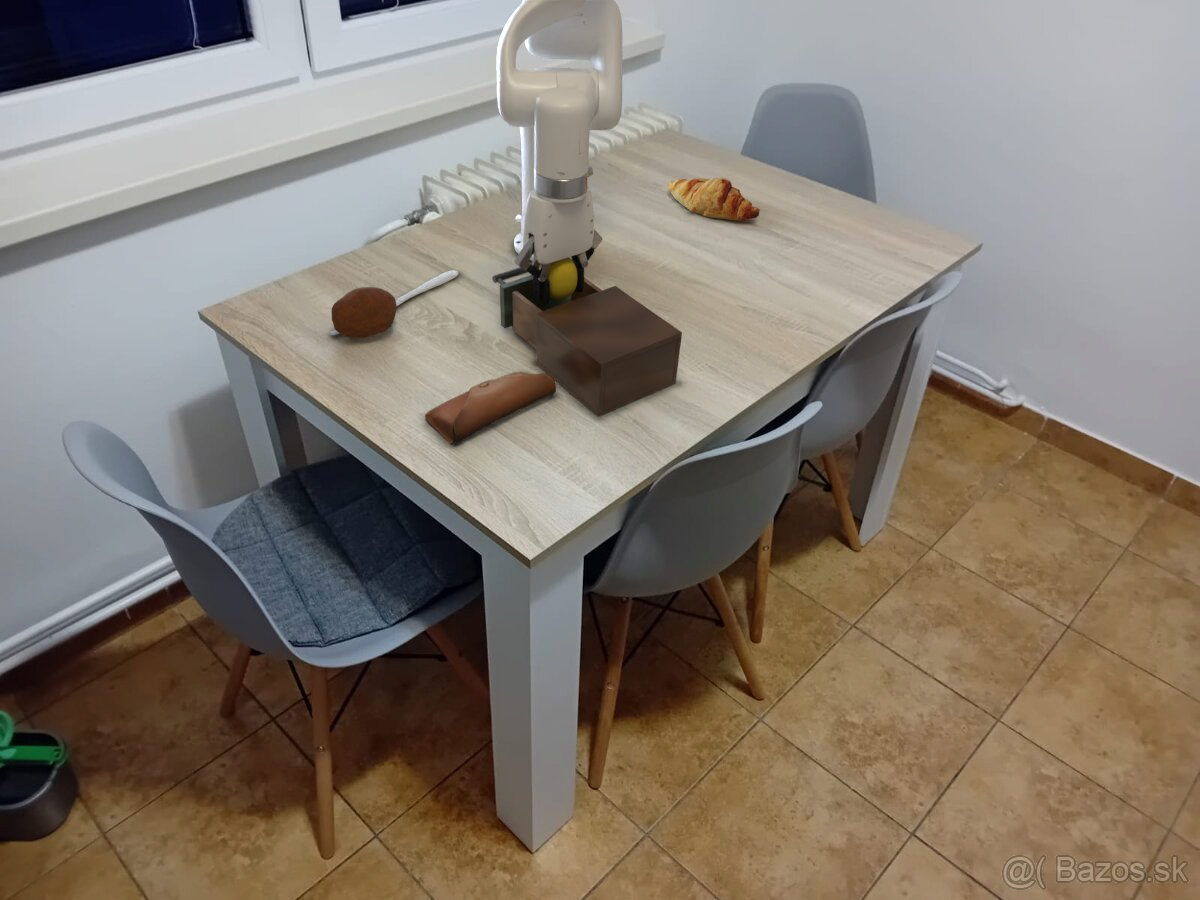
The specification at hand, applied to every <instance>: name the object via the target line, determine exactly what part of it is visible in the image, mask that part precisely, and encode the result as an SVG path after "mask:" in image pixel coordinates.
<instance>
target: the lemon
mask: <svg viewBox="0 0 1200 900" xmlns="http://www.w3.org/2000/svg"><path fill="white" fill-rule="evenodd" d="M546 279H548V280H549V281H550V297H551V298H553V299H556V300H557V301H561V300H562V299H566V298H568V297H569V296H570V295H572V293H573V292H574V290H575V288H576V285H577V270H576V266H575V264H574V262H573V261H572V259H570V258H569V257H567V258H564V259H561V260H558V261H555V262H551V265H550V268H549V272H548V275H547V278H546Z"/></svg>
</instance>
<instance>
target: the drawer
mask: <svg viewBox="0 0 1200 900" xmlns="http://www.w3.org/2000/svg"><path fill="white" fill-rule="evenodd" d="M540 269H541V268H539V270H540ZM528 273H529V272H527V271H525V270H524V269H522V268H521V267H519V266H518V267H517V268H513V269H510V270H508V271H503V272H501V273H497V274H495V275H493V276H492V277H491V278H492V282H493V283H494V284H496V283H498V284H499V307H500V326H501V327H502V328H503V329H508V328H511V327H512V330H513V331H514V332H515V333H516V334H518V336H520V337H521V338H522V339H523V340H525V342H527V343H528V344H530V345H531V346H532V347H533V348H534V349H535V350H537V313H539V312H542V311H545V310H548V309H550V308H553V307H556V306H559V305H562V304H565V303H568V302H571V301H573V300H576V299H579V298H582V297H585V296H588V295H591V294H593V293H596V292H599V291H602V290H603V289H602V288H600V287H599V286H598V285H596V284H595V283H593V282H592V281H590V280H589V279H587V278H586V277H585V276H584V283H583V292H580V293H579V292H577V291H576V290H574V292H573V293H572V295H570V296H569V297H568V298H566V299H562V300H561V301H557V300H556V299H553V298H551V297H550V302H549V303H548V304H544V303H543V302H541V301H540V300H539V299H537V298H536V297H535V295H534V293H533V275H531V274H530V275H527V276H524V277H521V278H518V279H515V280H511V281H508V282H506V280H509V279H512V278H515V277H519V276H522V275H525V274H528Z"/></svg>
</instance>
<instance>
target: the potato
mask: <svg viewBox="0 0 1200 900" xmlns="http://www.w3.org/2000/svg"><path fill="white" fill-rule="evenodd" d="M397 307H398V306H397V305H396V297H395V296H394V295H393V294H392V293H391V292H389V291H388V290H385V289H383V288H380V287H373V286H362V287H358V288H354V289H353V290H350V291H348V292H347V293H346V294H344V295H343V296H342V297H341V298H339V299H337V300H336V301H335V302H334V303H333V305H332V308H331V322H332V325H333V328H334V330H336V331H337V332H338V333H340V334H339V335H341V336H343V337H346V338H349V339H364V338H369V337H374V336H377V335H379V334H383V333H386V332H387V331H388V330H390V329H391V327H392V325H393V324H394V321H395V317H396V313H397Z"/></svg>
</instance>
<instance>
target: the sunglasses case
mask: <svg viewBox="0 0 1200 900" xmlns="http://www.w3.org/2000/svg"><path fill="white" fill-rule="evenodd" d="M556 392H557V384H556V381H555V380H554V379H553V378H552V377H551V376H550V375H548V374H547V373H545V372H543V373H541V372H540V373H527V372H522V371H514V372H511V373H508V374H504V375H502V376H500V377H499V376H498V377H496V378H493V379H488V380H485V381H482V382H480V383H478V384H475V385H473V386H471V387H470V388H469V389H468V390H467V391H465V392H463V393H460V394H459V395H456V396H454V397H453V398H451V399H447V401H445V402H443V403H440V404H439V405H437V406H435V407H433V408H431V409H430V410H429V411H427V412H426V413H425V414H424V417H425V421H426V422H427V423H428V424H429V425H430V426H431V427H432V428H433V429H434V430H435V431H436V432H437V433H438V434H439V435H440V436H441V437H442V438H443V439H444V440H445V441H447V443H449V444H450V445H455V444H456V443H460V442H462V441H464V440H466V439H467V438H469V437H471V436H473V435H475V434H476V433H478V432H480V431H482V430H483V429H485V428H487V427H489V426H491V425H492V424H494V423H495V422H497V421H500V420H502V419H504V418H506V417H508V416H510V415H513V414H514V413H516V412H518V411H520V410H522V409H525V408H527V407H529V406H531V405H533V404H535V403H536V402H538V401H541V400H543V399H545V398H547V397H549V396H551V395H554V394H556Z"/></svg>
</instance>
